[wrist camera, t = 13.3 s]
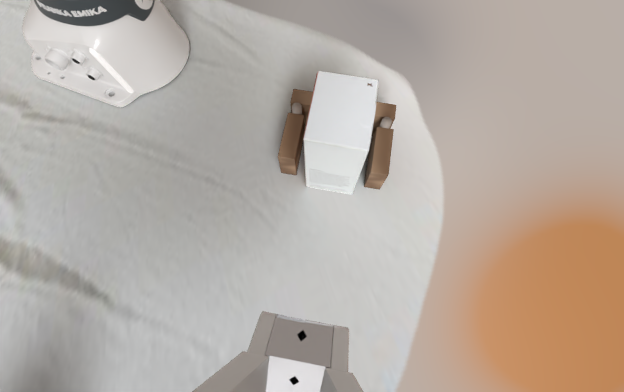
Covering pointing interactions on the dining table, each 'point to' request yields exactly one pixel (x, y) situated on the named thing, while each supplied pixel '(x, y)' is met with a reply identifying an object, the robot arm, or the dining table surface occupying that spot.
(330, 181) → the small box
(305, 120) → the brown u-shaped piece
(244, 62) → the dining table surface
